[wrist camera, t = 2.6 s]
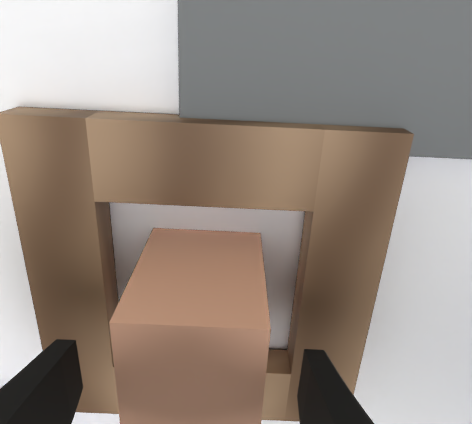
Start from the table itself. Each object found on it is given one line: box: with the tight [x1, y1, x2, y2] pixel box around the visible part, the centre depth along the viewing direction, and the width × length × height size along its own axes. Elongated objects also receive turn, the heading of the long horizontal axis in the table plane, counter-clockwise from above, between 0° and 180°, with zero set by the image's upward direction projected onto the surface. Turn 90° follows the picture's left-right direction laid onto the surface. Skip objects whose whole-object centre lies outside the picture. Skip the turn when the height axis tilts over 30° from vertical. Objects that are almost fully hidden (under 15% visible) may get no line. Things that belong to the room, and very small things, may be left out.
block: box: [109, 228, 271, 424], centre depth 14 cm, size 4×4×6 cm
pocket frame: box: [0, 107, 414, 421], centre depth 16 cm, size 14×14×2 cm
